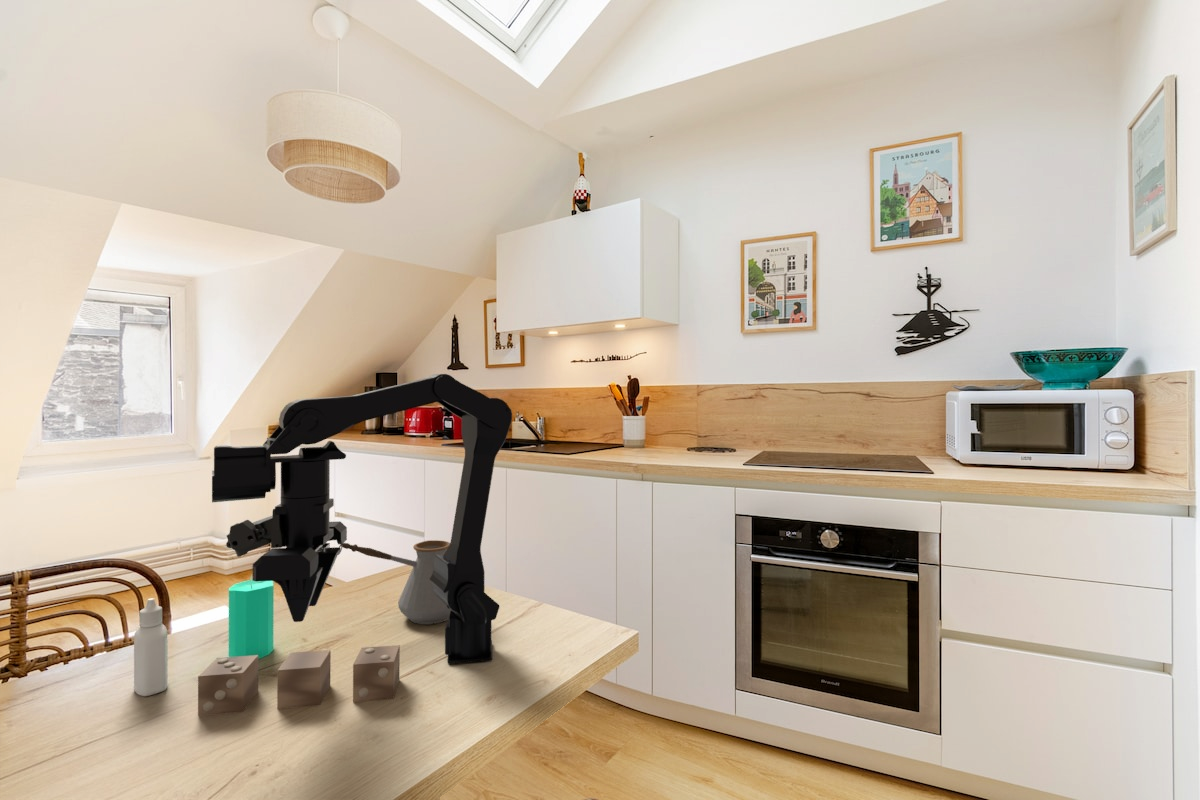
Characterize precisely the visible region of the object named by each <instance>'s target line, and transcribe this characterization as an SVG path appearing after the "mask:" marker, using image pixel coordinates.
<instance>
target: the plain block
mask: <svg viewBox="0 0 1200 800" xmlns="http://www.w3.org/2000/svg"><path fill="white" fill-rule="evenodd" d="M331 658H332V656H331V649H327V650H323V649H322V650H313V651H312V650H311V651H309V650H308V651H297V652H295V651H294V652H290V653H289V655H287V657H286V659H284V661H282V664H281V665H280V666H279V668H278V669H277V678H276V679H277V682H276V683H277V687H276V688H277V690H276V691H277V697H276V699H277V703H276V704H277V706H276V707H277V710H280V709H291V708H292V709H294V708H304V707H316V706H321V704H322V702H323V700H324V698H325V697H326V695H327V693H328V691H329V689H330V687H331V668H332V667H331V664H332V663H331Z"/></svg>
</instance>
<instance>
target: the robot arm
mask: <svg viewBox="0 0 1200 800" xmlns="http://www.w3.org/2000/svg"><path fill="white" fill-rule="evenodd" d="M435 403H438V404H439V405H441V406H442V407H443V408H445V409H446V410H447V411H448V412H450V413H451V414H453V415H455V417H458V418H460V420H461V423H460V424H461V429H460V430H461V432H460V433H461V438H462V443H463V444H462V445H463V448H464V459H463V464H462V470H461V477H460V483H459V489H458V495H457V501H456V507H455V514H454V517H453V518H454V520H453V524H452V525H453V526H452V532H451V537H450V542H449V543H450V545H449V547H448V549H447V550H446V552H445V554H444V555H443V556H442V555H437V554H436V555H435V556H434V570H433V573H432V576H431V577H430V581H431V582H432V583H433V589H434V592H435V593H436V595H437V596H438V597H439V598H440V599H441V600H442V601H443V602H444V603H445V604H446V606H447V608H448V609H450V610H452V611H450V617H449V619H448V620H446V623H445V629H444V655H446V656H447V664H448V665H449V664H451V665H452V664H464V663H466V664H467V663H476V662H477V663H479V662H489V661H492V660H493V640H492V621H494V620H495V619H497V615H498V613H499V609H500V604H499V603H498V602H496V601H495V600H494V599H493V598H492V597H490V596H489V595H488V594H487V593H485V568H484V567H485V566H484V562H483V557H482V552H481V551H482V550H481V547H482V540H483V535H484V529H485V522H486V516H487V510H488V504H489V498H490V497H489V496H490V491H491V486H492V479H493V473H494V469H495V468H494V467H495V460H496V457H497V455H498V454H499V452H500V450H501V448H502V447H503V445H504V444H505V442H506V439H507V437H508V434H509V431H510V428H511V424H512V422H513V412H512V408H510V406H509V404H508V403H507V402H506V401H505V400H503V399H501V398H499V397H489V396H487V395H485V394H484V393H481V392H480V391H478V390H476V389H474V388H472V387H470V386H468V385H466V384H464V383H462V382H460V381H459V380H457V379H455V377H453V376H452V375H451V374H447V373H440V374H439V373H438V374H432V375H429V376H428V377H426V378H422V379H421V378H420V379H417V380H413V381H408V382H405V383H400V384H397V385H396V384H395V385H392V386H387V387H383V388H379V389H374V390H370V391H366V392H362V393H357V394H353V395H345V396H343V395H342V396H330V397H315V398H314V397H312V398H301V399H296V400H293V401H290V402H288V403H287V404H286V405H285V406H284V407H283V408H282V410H281V411H280V414H279V418H278V423H279V425H278V427H276V429H275V430H274V431H273V432H272V433H271V435H270V436H269V437H267V438H266V440H265V442H264V443H263V444H262V445H253V446H252V445H248V446H245V445H244V446H231V445H215V446H214V447H213V469H212V470H211V503H221V502H223V503H224V502H232V501H234V502H235V501H245V500H246V501H247V500H257V499H265V498H266V495H267V494H266V493H270V492H271V490H276V484H277V483H276V482H277V481H276V480H277V478H276V477H277V475H276V474H277V473H276V469H277V468H276V467H277V466H276V463H277V464H278V463H280V504H278V505H276V506H274V508H273V509H272V515H270V516H268V517H265V518H262V519H259V520H256V521H253V522H252V521H250V520H249V519H246V520H245V519H244V521H241V522H239V523H238V522H237V523H235V524H233V525H230V528H229V533H228V534H226V538H227V541H226V544H225V545H226V548H228V549H232V550H233V551H234V552H235V554H236V556H237V557H238V558H239V557H242V556H245V555H247V554H248V553H249V552H251V551H253V550H256V549H258V548H259V549H260V548H261V547H264V546H267V545H270V548H271V549H269V550H268V551H266V552H265V553H263V554H262V555H261V556H260V557H259V558H258V559H257V560H256V561H255V562H254V563H253V564H252V580H253V581H256V582H257V581H273V583H276V584H277V585H279V586H280V588H281V591H282V592H283V595H284V598H285V601H286V603H287V606H288V610H289V614H290V616H291V619H292V621H293V622H295V623H300V622H301V623H302V622H303V621H304V620H305V618H306V615H307V612H308V610H309V607H315V606H317V604H318V601H319V599H320V597H321V594H322V592H323V589H324V587H325V585H326V582H327V580H328V578H329V576H330V573H331V572H332V569H333V567H334V566H335V565H334V564H335V562H336V559H337V558H338V556H339V555H338V553H339V552H340V550H341V547H340V548H339V546H338V547H331V546H330V545H331V543H330V541H336V542H337V545H341V544H343V543H346V541H347V540H348V539H347V537H348V534H347V533H348V530H347V529H348V527H347V526H346V525H345V523H343V522H342V521H330V509H331V508H332V507H334V506H335V503H334V502H335V501H334V498H330V484H331V483H330V479H331V477H330V473H331V472H330V469H331V468H330V464H331V462H330V461H331V460H332V461H333V460H345V459H346V458H347V453H344V452H343V451H342V450H341V449H339V447H337V445H336V443H335V442H334V441H332V440H328V441H327V442H326V443H325V445H323V446H316V447H315V446H314V447H313V446H312V447H311V446H310V447H308V446H307V445H315V444H318V443H320V442H322V441H325V440H327V439H330V438H332V437H334V436H336V435H338V434H340V433H343V432H344V431H346V430H348V429H349V428H351V427H353V426H356V425H358V424H360V423H363V422H365V421H369V420H373V419H377V418H381V417H385V416H389V415H392V414H395V413H400V412H403V411H407V410H412V409H415V408H419V407H422V406H425V405H430V404H435ZM302 445H306V446H307V447H300V448H299V450H298V454H291V455H290V454H289V453H290V452H292V451H294V450H296V448H298V447H299V446H302ZM287 454H289V455H287ZM273 455H274V456H273ZM275 455H276V456H275ZM340 553H341V552H340Z"/></svg>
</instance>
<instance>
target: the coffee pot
mask: <svg viewBox="0 0 1200 800" xmlns="http://www.w3.org/2000/svg"><path fill="white" fill-rule="evenodd" d="M449 545H450V542H449V541H445V540H437V539H436V540H424V541H421V542H417V543H415V544H414V545H413V550H414V551H416V552H415V553H416V556H417V557H416V560H411V559H408V558H403V557H399V556H395V555H392V554H389V553H386V552H383V551H381V550H376V549H374V548H371V547H363V546H358V544H350V543H348V542H344V543H343V544H339V546H338V547H339V548H341V549H340V552H339V553H338V556H339V555H340V554H341V552H342V550H343V549H346V550H348V549H349V550H351V551H352V552H358V553H361V554H363V555H365V556H368V557H369V556H370V557H374V558H378V559H383V560H388V561H393V562H397V563H399V564H404V565H407V566H411V567H412V568H411V571H410V573H409V576H408V578H407V581H406V583H405V585H404V587H403V589H402V592H401V595H400V596H399V599H398V602H397V604H398V608H399V611H400V612H401V614H402V615H404V616H405V617H406V618H407V619H409V621H410V622H412V623H414V624H417V625H418V624H419V625H434V624H440V623H443V621H444V622H447V621H449V617H450V611H452V610H450V609H448V608H447V606H446V604H445V603H444V602H443V601H442V600H441V599H440V598H439V597H438V596H437V595H436V593H435V592H434V589H433V583H432V582H431V581H430V577H431V576H432V573H433V570H434V556H435V555H436V554H437V555H442V556H443V555H444V554H445V552H446V550H447V549H448V547H449ZM433 623H434V624H433Z"/></svg>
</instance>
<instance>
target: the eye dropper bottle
mask: <svg viewBox="0 0 1200 800" xmlns="http://www.w3.org/2000/svg"><path fill="white" fill-rule="evenodd" d="M156 604H157V603H156V600H155V598H154V597H153V598H152V597H151V598H148V599H147V601H146V606H145V607H144V608H142V609H141V610H139V614H138V615H139V617H138V618H139V620H138V621H139V622H138V623H139V627H138V628H137V629H136V630H135V632H134V636H133V688H134V692H135V693H136V694H137V695H138V696H142V697H149V696H153V695H156V694H160V693H162V692H164V691H166V689H167V687H168V681H169V680H168V676H169V675H168V673H169V672H168V662H169V661H168V658H169V657H168V654H169V653H168V643H169V642H168V640H169V639H168V630H167V627H166V625H164V623H163V607H162V606H160V605H156Z"/></svg>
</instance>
